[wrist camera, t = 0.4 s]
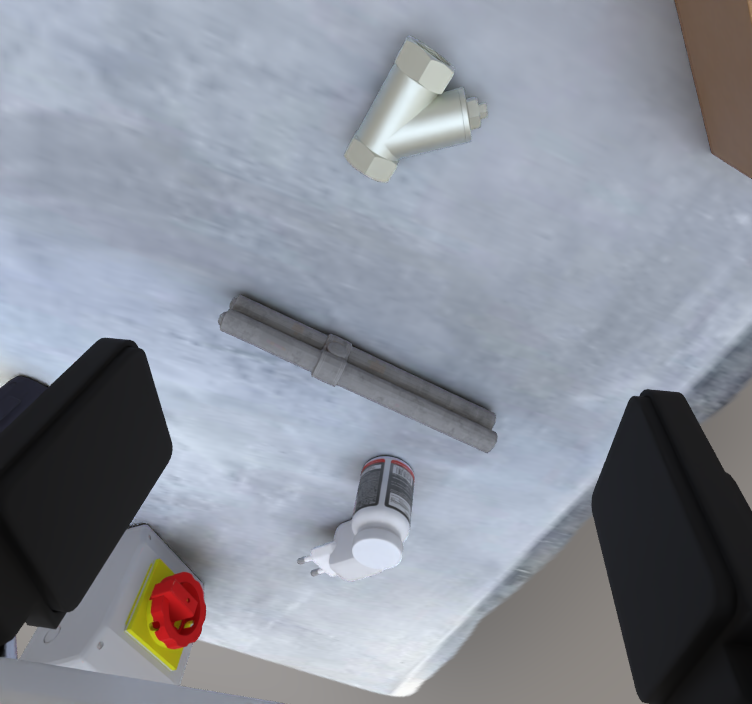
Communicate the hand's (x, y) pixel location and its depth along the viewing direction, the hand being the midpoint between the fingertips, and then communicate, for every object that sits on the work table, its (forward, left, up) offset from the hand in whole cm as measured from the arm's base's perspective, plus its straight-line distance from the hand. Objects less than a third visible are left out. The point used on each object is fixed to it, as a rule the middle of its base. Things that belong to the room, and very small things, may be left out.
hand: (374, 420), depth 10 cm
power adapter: (+46, -8, -31) cm, 56 cm away
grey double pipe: (+20, -5, -31) cm, 37 cm away
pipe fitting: (0, -1, -31) cm, 31 cm away
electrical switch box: (+56, -33, -31) cm, 72 cm away
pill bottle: (+35, -3, -31) cm, 47 cm away
